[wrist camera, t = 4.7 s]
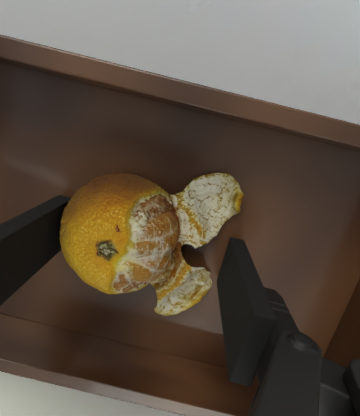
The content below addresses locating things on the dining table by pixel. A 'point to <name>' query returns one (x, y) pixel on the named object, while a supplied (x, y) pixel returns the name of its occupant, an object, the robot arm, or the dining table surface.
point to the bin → (196, 257)
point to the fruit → (146, 234)
